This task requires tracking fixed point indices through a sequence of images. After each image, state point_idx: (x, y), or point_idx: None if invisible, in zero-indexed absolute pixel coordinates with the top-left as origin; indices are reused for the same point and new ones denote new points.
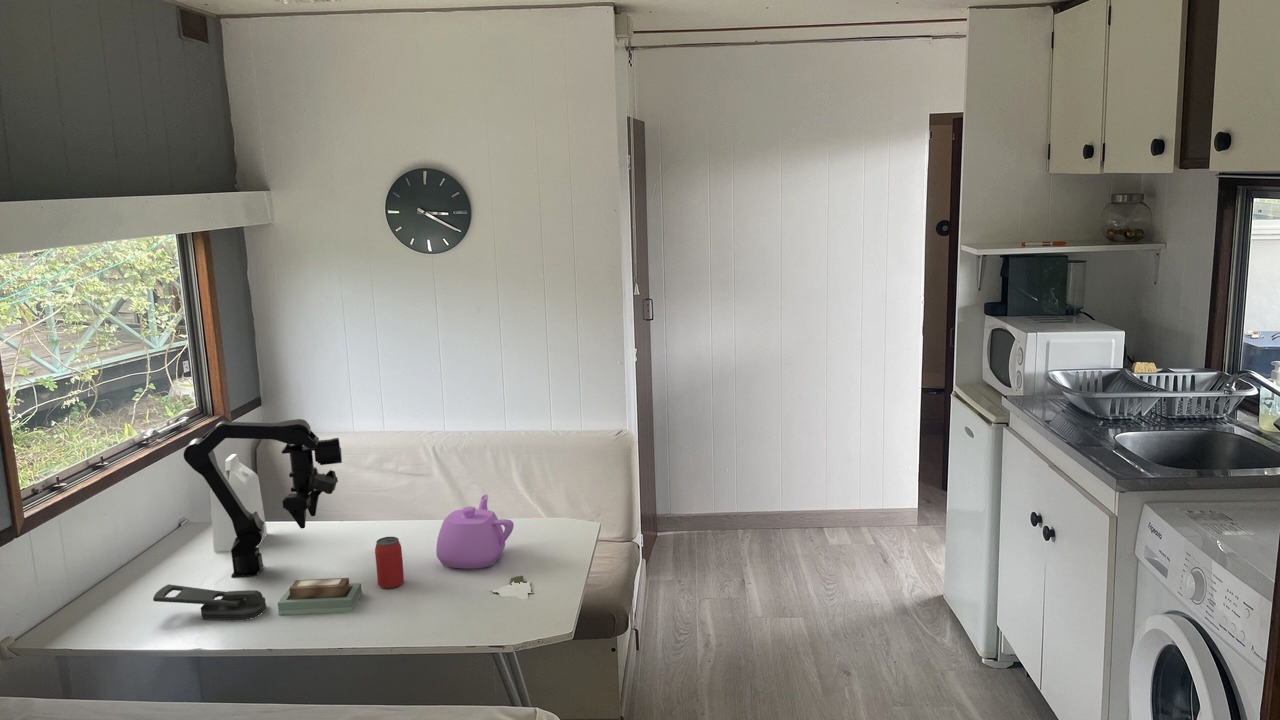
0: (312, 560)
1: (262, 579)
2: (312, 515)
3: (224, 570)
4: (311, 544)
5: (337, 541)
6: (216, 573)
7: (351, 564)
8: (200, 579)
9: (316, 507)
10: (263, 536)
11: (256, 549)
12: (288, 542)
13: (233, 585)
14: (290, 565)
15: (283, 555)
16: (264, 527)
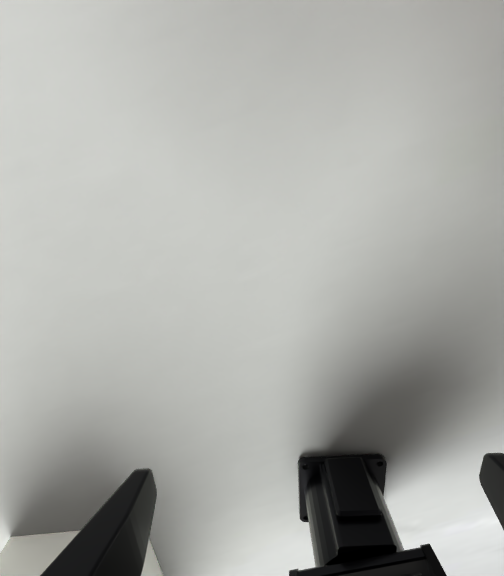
0: (245, 312)
1: (414, 423)
2: (152, 490)
3: None
4: (75, 374)
5: (22, 279)
6: None
7: (307, 96)
8: None
9: (80, 547)
10: (46, 540)
11: (362, 548)
12: (70, 456)
13: (445, 485)
14: (293, 377)
15: (194, 432)
16: (6, 571)
